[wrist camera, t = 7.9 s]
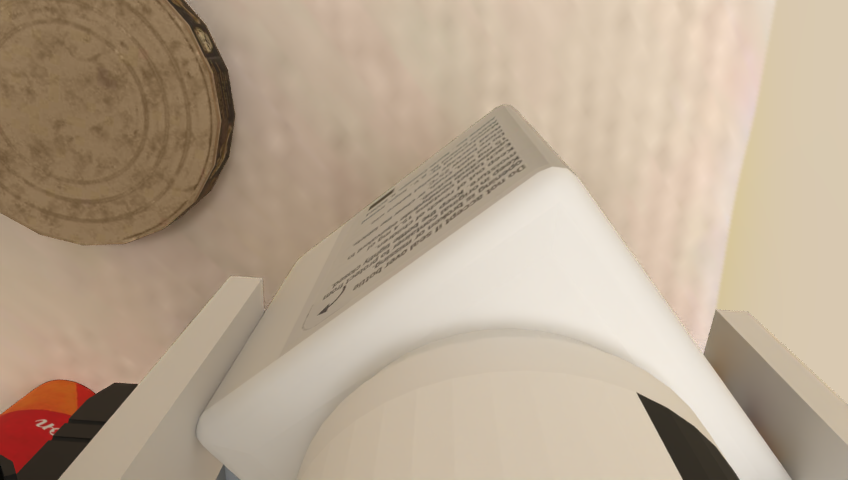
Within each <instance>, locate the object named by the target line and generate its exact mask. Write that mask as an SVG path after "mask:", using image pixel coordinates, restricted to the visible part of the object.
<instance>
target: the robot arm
mask: <svg viewBox="0 0 848 480" xmlns="http://www.w3.org/2000/svg"><path fill="white" fill-rule="evenodd" d="M263 314H264V295H263V278H256V277H242V276H230V277H229V278H228V279H227V281H226V282H225V283H224V284H223V285H222V286H221V288H220V289H219V290H218V291H217V292H216V294H215V295H214V296H213V297H212V298H211V299H210V301H209V302H208V303H207V304H206V305H205V307H204V308H203V309H202V310H201V311H200V312H199V314H198V315H197V316H196V317H195V318H194V320H193V321H192V322H191V323H190V324H189V325H188V327H187V328H186V329H185V330H184V331H183V333H182V334H181V335H180V336H179V337H178V338H177V340H176V341H175V342H174V343H173V344H172V345H171V347H170V348H169V349H168V350H167V351H166V353H165V354H164V355H163V356H162V357H161V358H160V360H159V361H158V362H157V363H156V364H155V366H154V367H153V368H152V369H151V370H150V371H149V373H148V374H147V375H146V376H145V377H144V379H143V380H142V381H141V382H140V383H139V384H125V383H114V384H112V385H110V386H108V387H107V388H105V389H103V390H102V391H100V392H98V393H97V394H95V395H93V396H92V397H90V398H88V399H87V400H86V401H85V402H84V403H83V404H82V405H81V406H80V407H79V409H78V410H77V411H76V412H75V413H74V414H73V415H72V416H71V417H70V418H69V421H68V423H64V424H63V425H62V426H61V427H60V429H59V430H58V431H57V432H56V433H55V434H54V435H53V438H52V440H48V441H47V442H46V443H45V444H44V445H43V446H42V447H41V449H40V450H39V451H38V452H37V453H36V454H35V455H34V456H33V457H32V458H31V459H30V460H29V461H28V462H27V463H26V464H25V465H24V466H23V467H22V469H21V470H20V471H19V472H18V473H17V474H16V471H15V468H14V464H13V461H11V460H9V459H7V458H6V457H4V456H2V455H0V480H216V478H217V476H218V474H219V472H220V470H221V468H222V466H223V464H222V463H221V462H220V461H219V460H218V459H217V458H216V457H215V456H213V455H212V454H211V453H210V452H209V451H208V450H207V449H206V448H205V447H204V446H202V444H201V443H200V441H199V440H198V439H197V437H196V427H197V423H198V420H199V418H200V416H201V414H202V413H203V411H204V410H205V408H206V406H207V405H208V403H209V402H210V400H211V398H212V397H213V395H214V393H215V392H216V390H217V389H218V387H219V385H220V384H221V382H222V381H223V379H224V377H225V376H226V374H227V372H228V371H229V369H230V368H231V366H232V364H233V363H234V361H235V360H236V358H237V356H238V355H239V353H240V351H241V350H242V348H243V347H244V345H245V343H246V342H247V340H248V339H249V337H250V335H251V334H252V332H253V331H254V329H255V327H256V326H257V324H258V322H259V321H260V319H261V318H262V316H263ZM704 356H705V357H706V359H707V360H708V362H709V363H710V364H711V366H712V367H713V369H714V370H715V371H716V373H717V374H718V376H719V377H720V378H721V380H722V381H723V383H724V384H725V386H726V387H727V388H728V390H729V391H730V393H731V394H732V395H733V397H734V398H735V400H736V401H737V402H738V404H739V405H740V407H741V408H742V410H743V411H744V412H745V414H746V415H747V417H748V418H749V419H750V421H751V422H752V424H753V425H754V426H755V428H756V429H757V431H758V432H759V434H760V435H761V436H762V438H763V439H764V441H765V442H766V443H767V445H768V446H769V448H770V449H771V451H772V452H773V453H774V455H775V456H776V458H777V459H778V460H779V462H780V463H781V465H782V466H783V467H784V469H785V470H786V472H787V473H788V475H789V476H790V477H791V479H792V480H848V404H847V403H846V402H845V401H844V400H843V399H842V398H840V396H839V395H837V394H836V393H835V392H834V391H833V390H832V389H831V388H830V387H829V386H828V385H827V384H826V383H824V382H823V381H822V380H821V379H820V378H819V377H818V376H817V375H816V374H815V373H814V372H813V371H812V370H811V369H809V368H808V367H807V366H806V365H805V364H804V363H803V362H802V361H801V360H800V359H799V358H798V357H796V355H794V354H793V353H792V352H791V351H790V350H789V349H788V348H787V347H786V346H785V345H784V344H782V342H780V341H779V340H778V339H777V338H776V337H775V336H774V335H773V334H772V333H771V332H770V331H769V330H768V329H766V328H765V327H764V326H763V325H762V324H761V323H760V322H759V321H758V320H757V319H756V318H755V317H754V316H752V315H751V314H750V313H749V312H745V311H730V310H716V311H715V315H714V318H713V322H712V326H711V329H710V333H709V337H708V340H707V344H706V347H705V351H704Z"/></svg>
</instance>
